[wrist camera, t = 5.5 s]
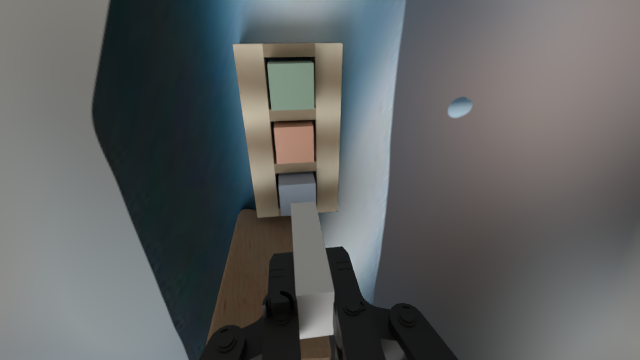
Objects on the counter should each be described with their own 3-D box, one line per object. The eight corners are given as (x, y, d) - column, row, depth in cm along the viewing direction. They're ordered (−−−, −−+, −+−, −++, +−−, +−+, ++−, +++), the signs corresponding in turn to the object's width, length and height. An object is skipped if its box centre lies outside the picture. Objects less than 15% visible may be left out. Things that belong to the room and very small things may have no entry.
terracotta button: (310, 148, 32) (314, 161, 29) (277, 150, 32) (277, 164, 29) (309, 116, 31) (313, 126, 27) (274, 117, 30) (273, 127, 27)
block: (239, 205, 36) (200, 361, 19) (311, 212, 38) (336, 359, 21) (234, 259, 40) (198, 428, 23) (298, 264, 42) (311, 421, 25)
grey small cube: (312, 195, 34) (316, 213, 31) (281, 197, 34) (281, 216, 30) (311, 167, 32) (315, 183, 29) (278, 169, 32) (278, 185, 28)
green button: (310, 100, 29) (314, 109, 25) (272, 101, 28) (271, 110, 25) (309, 59, 27) (313, 63, 23) (269, 60, 26) (267, 63, 23)
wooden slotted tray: (332, 195, 37) (337, 211, 34) (259, 200, 36) (257, 217, 33) (335, 42, 28) (342, 43, 25) (239, 43, 27) (232, 44, 24)
